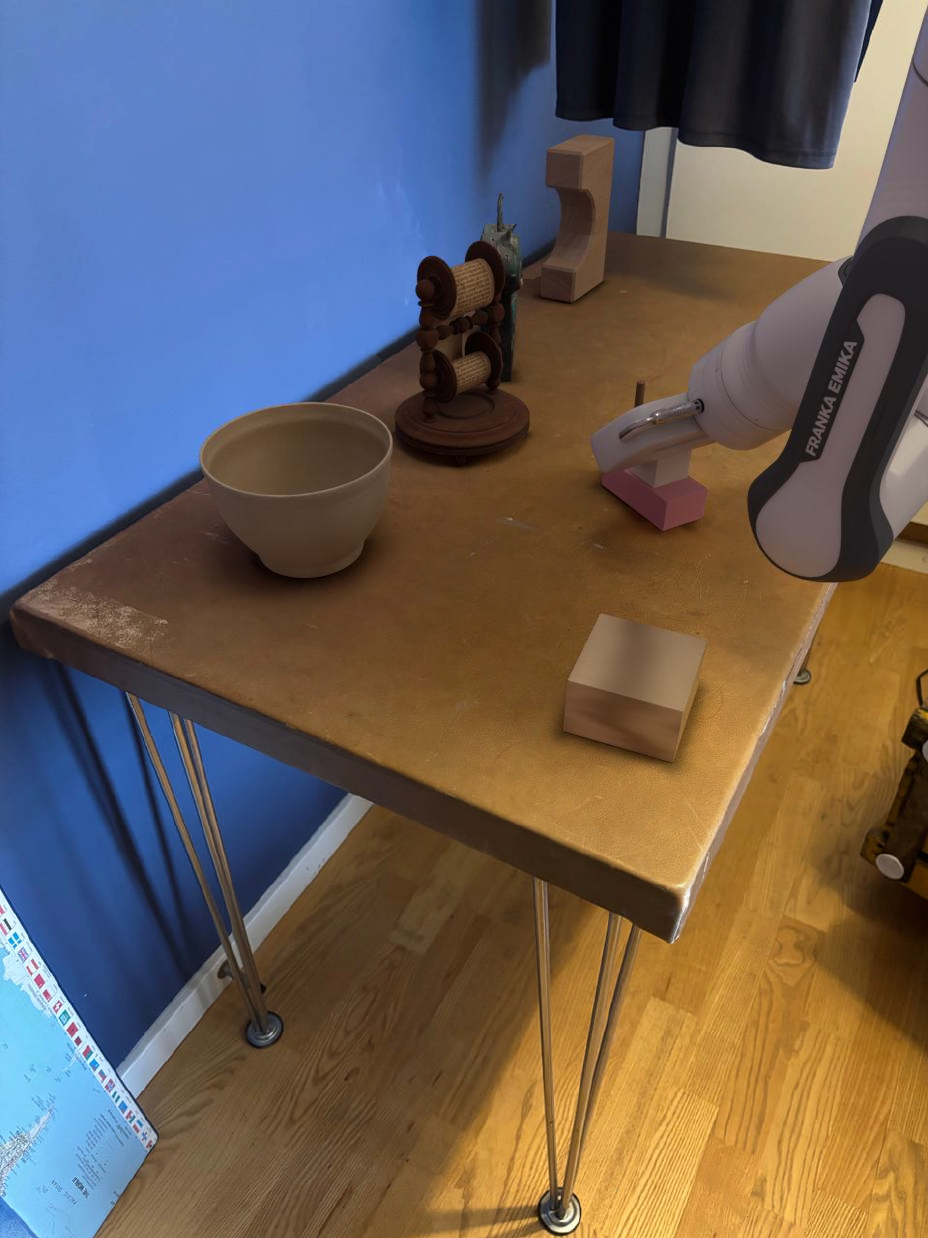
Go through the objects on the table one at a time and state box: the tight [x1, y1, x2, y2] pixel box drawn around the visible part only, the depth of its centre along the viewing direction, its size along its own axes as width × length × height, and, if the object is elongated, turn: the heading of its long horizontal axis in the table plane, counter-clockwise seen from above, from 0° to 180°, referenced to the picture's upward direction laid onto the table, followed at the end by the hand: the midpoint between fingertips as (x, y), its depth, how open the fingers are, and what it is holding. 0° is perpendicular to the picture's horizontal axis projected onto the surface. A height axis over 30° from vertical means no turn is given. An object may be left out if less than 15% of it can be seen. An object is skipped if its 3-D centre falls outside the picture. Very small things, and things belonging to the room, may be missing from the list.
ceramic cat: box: [472, 192, 524, 382], centre depth 112 cm, size 20×6×20 cm, turn 179°
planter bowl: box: [198, 401, 394, 579], centre depth 80 cm, size 16×16×11 cm
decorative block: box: [539, 133, 616, 304], centre depth 131 cm, size 11×6×20 cm, turn 148°
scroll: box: [394, 239, 531, 466], centre depth 95 cm, size 15×15×20 cm
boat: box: [601, 379, 709, 532], centre depth 87 cm, size 12×5×11 cm, turn 28°
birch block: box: [562, 613, 708, 763], centre depth 66 cm, size 8×8×5 cm
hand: (656, 450), depth 86 cm, fingers closed on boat, 4 cm apart
